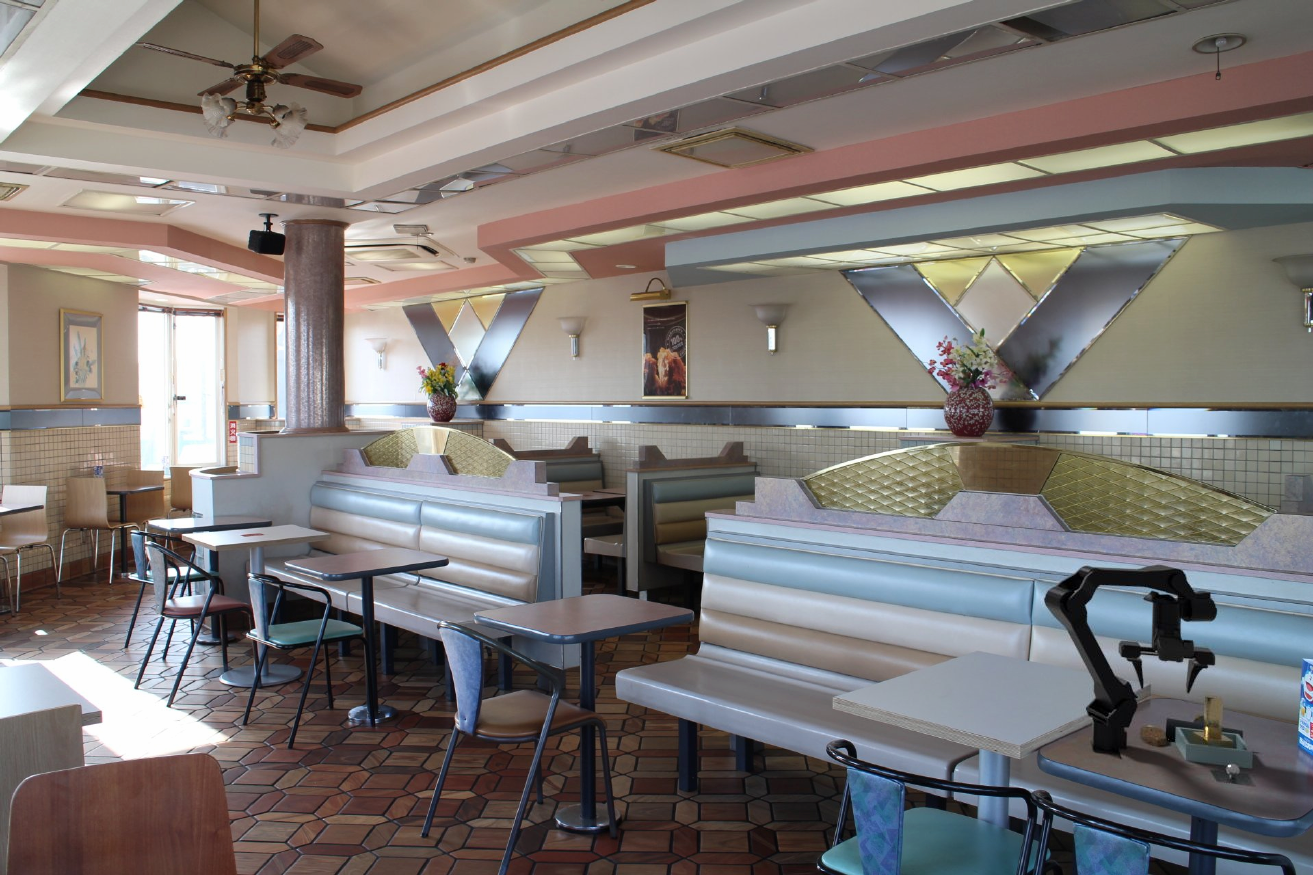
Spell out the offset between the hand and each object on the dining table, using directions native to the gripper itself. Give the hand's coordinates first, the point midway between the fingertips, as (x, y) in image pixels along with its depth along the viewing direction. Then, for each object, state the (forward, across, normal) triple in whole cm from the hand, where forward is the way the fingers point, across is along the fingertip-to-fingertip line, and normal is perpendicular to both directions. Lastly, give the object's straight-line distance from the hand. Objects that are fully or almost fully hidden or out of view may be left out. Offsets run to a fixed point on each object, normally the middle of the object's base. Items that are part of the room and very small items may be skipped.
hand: (1164, 690), depth 214 cm
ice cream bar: (+14, -1, +5) cm, 14 cm away
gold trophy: (+12, +9, -4) cm, 16 cm away
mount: (+13, +10, -18) cm, 24 cm away
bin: (+13, +9, -4) cm, 16 cm away
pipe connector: (+14, +10, +9) cm, 19 cm away
